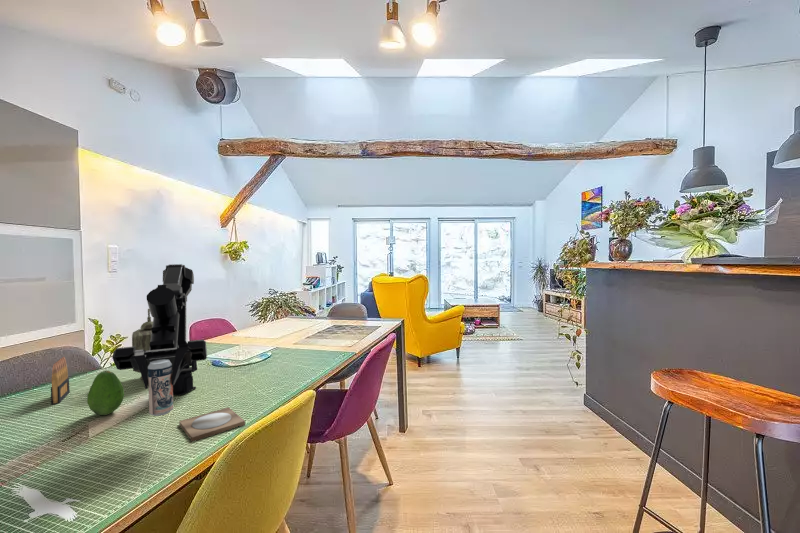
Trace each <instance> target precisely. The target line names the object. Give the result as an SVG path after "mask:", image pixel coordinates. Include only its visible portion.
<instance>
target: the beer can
mask: <svg viewBox="0 0 800 533" xmlns="http://www.w3.org/2000/svg"><path fill="white" fill-rule="evenodd" d="M147 390H148V414H149V415H151V416H153V417H161V416H164V415H167V414H169V413H170V412H172V411H173V410H174V395H173V385H172V363H171V362H170V360H168V359H162V360H156V361H152V362H150V364H149V366H148V389H147Z"/></svg>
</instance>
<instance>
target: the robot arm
mask: <svg viewBox="0 0 800 533" xmlns="http://www.w3.org/2000/svg"><path fill="white" fill-rule="evenodd" d="M194 276H195V275H194V271H193V269H191V268H188V267H186V266H185V264H182V263H181V264H180V263H179V264H175V263H174V264H173V263H172V264H168V265H165V269H164V270H162V284H157V287H156V288H154V289H152V290H150V291H149V292H148V294H146V302H147V306H148V309H150V317H151V318H153V319H152V321H153V325H152V333H151V341H150V349H149V351H145V350H136V348H135V346H133V347H132V346H125V347H123V346H122V347H117V348H116V349H114V351H113V352H112V356H111V358H112V360H113V361H112V362H113V363H114V366H115V368H116V370H120V371H123V370H133V369H134V370H139V371H140V373H139V374H140V375H141V376H142V379H143V380H142V382H143V385H144V388H145V390H149V389H148V366H149V364H150V362H152V361H156V360H162V359H168V360H170V362H171V363H172V385H173V396H183V395H184V394H187V393H189V392H191V391H193V390H195V389H196V388H197V386H194V376H193V373H195V372H197V371H198V364H197V363H198V361H200V362H201V361H205V360H207V359H208V352H207V351H208V349H207V348H208V347H207V342H206V340H204V339H197V340H188V341H187V302H188V296H189V295H190V293H191V291H192V290H193V289H192V288H193V287H192V285H194V282H195V277H194ZM141 376H140V377H141Z"/></svg>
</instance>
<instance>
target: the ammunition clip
mask: <svg viewBox="0 0 800 533" xmlns="http://www.w3.org/2000/svg"><path fill="white" fill-rule="evenodd" d="M68 371H69V369H68V365H67V359H66V358H65V356H62V357H61V358H60V359H59V360H57V361H55V363H53V365H52V372H51V387H50V402H51V404H50V405H51V406H52V405H58V404H60V403H62V402H63V400H65V398H66V397H67V396H68V395H69V394H70V393H71V392H70V377H69V373H68Z"/></svg>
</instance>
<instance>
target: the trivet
mask: <svg viewBox="0 0 800 533" xmlns="http://www.w3.org/2000/svg"><path fill="white" fill-rule="evenodd" d="M178 423H179V426H180V428H181V429H182V430H183V432H184V433H185V434H186V436H188V439H190V441H191V442H192V441H193V442H196V441H199V440H202V439H205V438H209V437H212V436H214V435H217V434H221V433H224V432H227V431H230V430H233V429H232V428H234V429H236V428H235V427H237V428H239V427H238V426H240V427H242V426H246V420H244V419H243V418H242V417H241V416H239V414H237V413H236V412H235V411H234V410H232V409H231V408H230V407H229V406H228V407H226V408H221V409H217V410H214V411H211V412H207V413H204V414H200V415H196V416H193V417H189V418H185V419H182V420H179V422H178ZM229 429H230V430H229ZM226 430H227V431H226ZM223 431H224V432H223ZM195 440H196V441H195Z"/></svg>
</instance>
